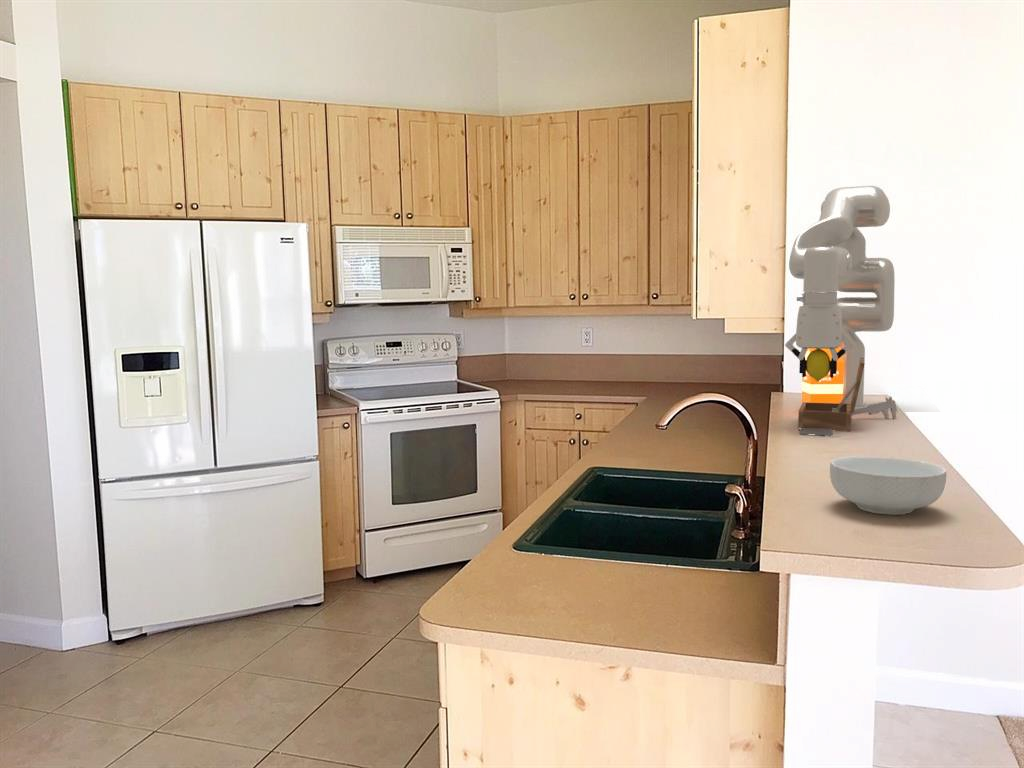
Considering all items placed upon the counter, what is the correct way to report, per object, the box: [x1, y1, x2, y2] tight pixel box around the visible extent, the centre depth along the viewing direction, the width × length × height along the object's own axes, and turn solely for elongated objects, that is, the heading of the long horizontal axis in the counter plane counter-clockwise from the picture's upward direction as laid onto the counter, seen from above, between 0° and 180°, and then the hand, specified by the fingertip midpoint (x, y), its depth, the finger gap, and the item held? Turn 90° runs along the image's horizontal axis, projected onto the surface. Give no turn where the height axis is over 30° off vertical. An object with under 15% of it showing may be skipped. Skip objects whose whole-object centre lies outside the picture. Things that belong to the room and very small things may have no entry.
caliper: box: [851, 395, 898, 420], centre depth 232 cm, size 20×1×6 cm, turn 87°
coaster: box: [799, 428, 833, 437], centre depth 211 cm, size 7×7×1 cm
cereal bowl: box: [829, 455, 947, 516], centre depth 138 cm, size 17×17×7 cm
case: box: [797, 358, 866, 432], centre depth 222 cm, size 18×15×17 cm
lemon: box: [806, 349, 830, 382], centre depth 209 cm, size 6×6×8 cm
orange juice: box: [801, 347, 844, 403], centre depth 242 cm, size 8×9×20 cm
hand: (817, 376), depth 209 cm, fingers closed on lemon, 5 cm apart
